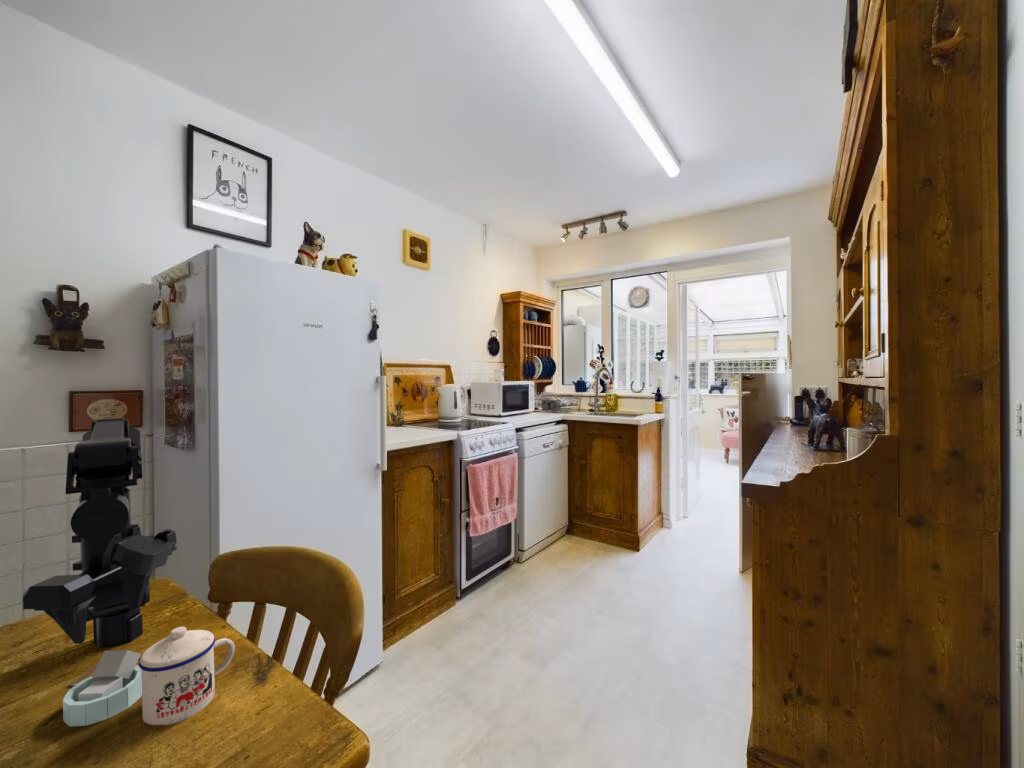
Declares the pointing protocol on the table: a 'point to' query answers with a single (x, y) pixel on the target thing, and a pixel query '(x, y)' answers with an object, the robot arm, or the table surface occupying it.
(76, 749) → the table surface
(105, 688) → the light grey cube
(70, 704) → the bowl
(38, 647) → the table surface
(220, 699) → the table surface
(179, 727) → the table surface
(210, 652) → the teacup with lid
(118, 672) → the grey cube
